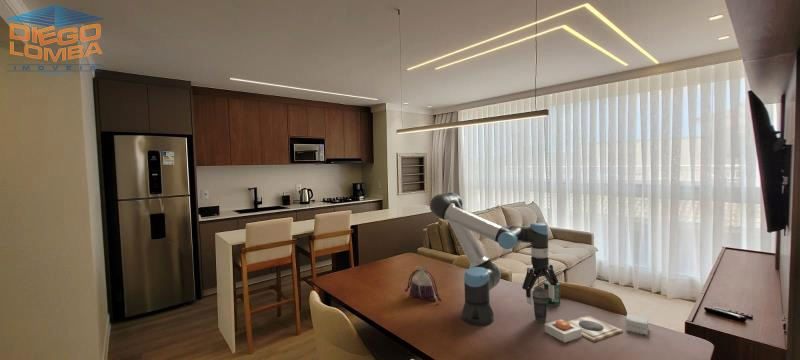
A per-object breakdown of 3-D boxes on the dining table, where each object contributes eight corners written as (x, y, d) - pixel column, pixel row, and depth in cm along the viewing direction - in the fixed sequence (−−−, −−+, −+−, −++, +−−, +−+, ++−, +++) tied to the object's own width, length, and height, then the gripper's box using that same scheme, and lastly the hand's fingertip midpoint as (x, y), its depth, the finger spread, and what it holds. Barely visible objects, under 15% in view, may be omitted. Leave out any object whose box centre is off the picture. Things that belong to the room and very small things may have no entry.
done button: (563, 332, 138) (563, 327, 138) (552, 326, 144) (552, 322, 144) (573, 329, 141) (573, 324, 141) (561, 323, 146) (561, 319, 146)
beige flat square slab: (594, 341, 136) (594, 338, 135) (561, 325, 150) (561, 322, 150) (622, 332, 143) (622, 328, 143) (588, 317, 157) (588, 314, 157)
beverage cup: (539, 324, 151) (538, 281, 151) (529, 318, 158) (528, 276, 158) (552, 322, 153) (552, 279, 153) (541, 315, 160) (541, 275, 160)
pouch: (399, 297, 189) (399, 264, 188) (407, 292, 196) (406, 260, 195) (439, 305, 176) (438, 270, 175) (446, 300, 183) (445, 266, 182)
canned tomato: (540, 301, 177) (540, 281, 177) (550, 298, 181) (550, 278, 180) (553, 307, 170) (553, 285, 170) (563, 303, 174) (563, 283, 173)
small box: (648, 328, 145) (648, 317, 145) (647, 336, 139) (647, 324, 139) (626, 324, 150) (626, 312, 150) (625, 330, 144) (625, 319, 144)
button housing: (564, 342, 136) (564, 334, 136) (545, 331, 145) (544, 324, 145) (581, 337, 140) (581, 328, 140) (561, 326, 149) (561, 319, 149)
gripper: (525, 262, 146) (526, 309, 147) (565, 254, 156) (566, 298, 157) (513, 258, 153) (514, 303, 154) (552, 251, 163) (553, 293, 164)
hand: (541, 301), depth 155 cm, fingers open, 13 cm apart
